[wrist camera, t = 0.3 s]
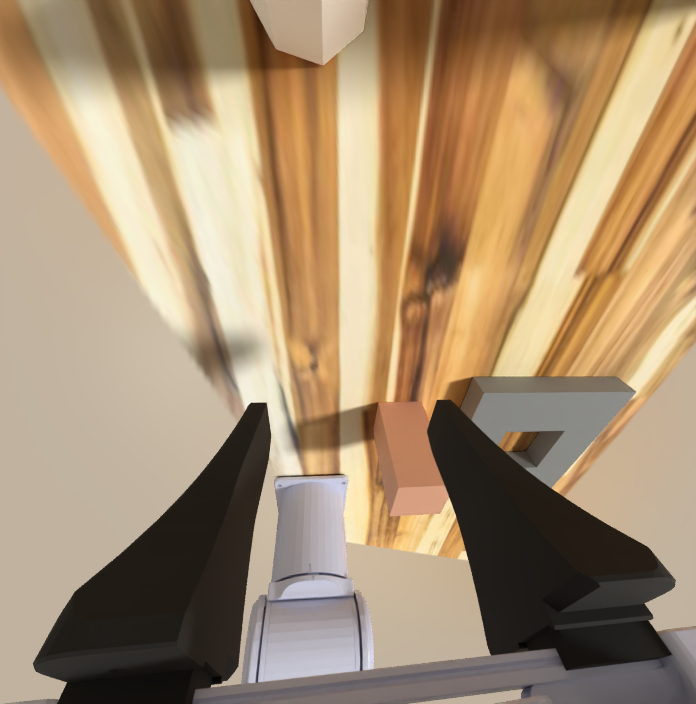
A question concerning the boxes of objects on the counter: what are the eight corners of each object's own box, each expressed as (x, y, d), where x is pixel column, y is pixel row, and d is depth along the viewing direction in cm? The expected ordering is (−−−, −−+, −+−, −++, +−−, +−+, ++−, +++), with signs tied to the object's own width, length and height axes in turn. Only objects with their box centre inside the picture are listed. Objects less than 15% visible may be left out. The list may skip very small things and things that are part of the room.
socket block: (538, 475, 36) (548, 490, 34) (430, 479, 34) (435, 496, 33) (617, 376, 26) (636, 391, 25) (473, 377, 25) (484, 393, 23)
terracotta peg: (412, 430, 29) (440, 513, 22) (373, 431, 28) (389, 516, 22) (421, 401, 26) (454, 485, 20) (378, 402, 26) (398, 487, 19)
